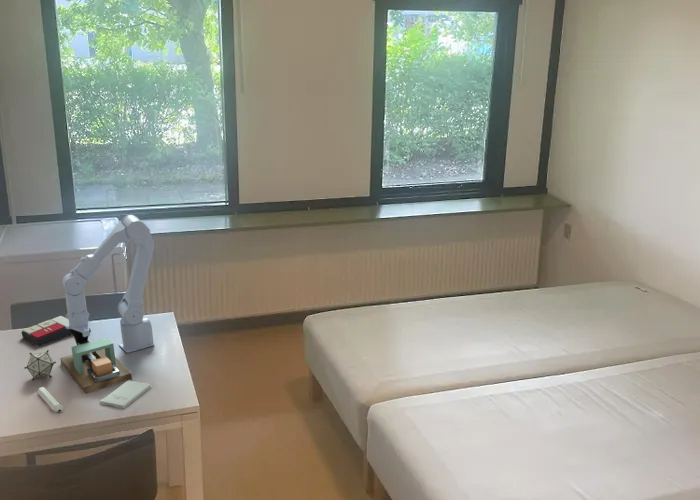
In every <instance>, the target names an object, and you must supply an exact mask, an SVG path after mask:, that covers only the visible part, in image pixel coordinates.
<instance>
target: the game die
mask: <svg viewBox="0 0 700 500" xmlns="http://www.w3.org/2000/svg"><path fill="white" fill-rule="evenodd" d="M29 355H30V356H29V357H30V358H29V360H28V362H27V365H26V366H24V367H23V369H24V370H26V369H27V371H28V372H29V373H30V375H31V376H32V378H31V380H32V381H34V380H35V379H36V378H43V377H49V378H52V375H51V372H52V369H53V368H54V367H53V366H54V365H55V364H56V363H57V361H54V360H53V359H52V357H51V356H50V354H49V349H47V350H46V352H40V353H32V352H29Z"/></svg>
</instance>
